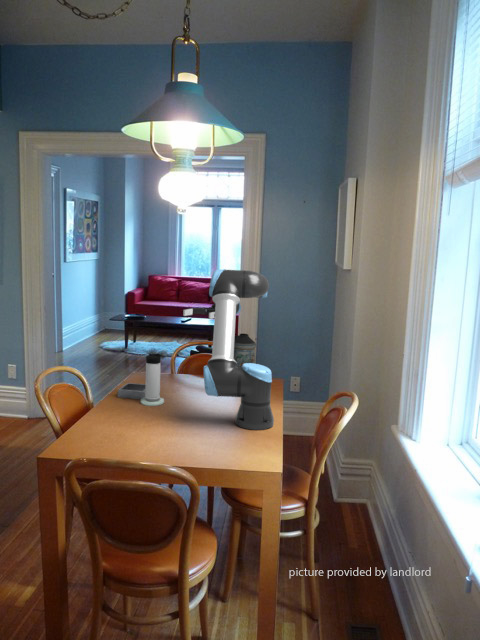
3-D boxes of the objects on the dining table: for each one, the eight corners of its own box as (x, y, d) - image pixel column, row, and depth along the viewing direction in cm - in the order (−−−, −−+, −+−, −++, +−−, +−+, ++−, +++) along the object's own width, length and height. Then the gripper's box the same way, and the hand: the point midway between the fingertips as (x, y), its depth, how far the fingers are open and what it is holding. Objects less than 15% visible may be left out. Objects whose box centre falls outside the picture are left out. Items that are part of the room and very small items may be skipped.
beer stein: (244, 388, 247) (248, 338, 243) (214, 380, 258) (217, 333, 255) (264, 383, 260) (267, 335, 256) (234, 375, 271) (237, 330, 268)
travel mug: (163, 399, 219) (164, 355, 217) (151, 402, 215) (152, 356, 212) (154, 396, 224) (155, 352, 221) (142, 399, 219) (143, 354, 216)
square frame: (143, 399, 223) (143, 391, 222) (117, 397, 224) (117, 389, 224) (151, 392, 235) (152, 384, 234) (127, 390, 236) (127, 382, 236)
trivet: (160, 406, 214) (160, 404, 214) (137, 404, 215) (137, 402, 215) (166, 400, 224) (166, 397, 223) (145, 398, 225) (145, 395, 225)
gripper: (242, 320, 239) (220, 325, 221) (198, 315, 251) (173, 319, 232) (243, 304, 238) (221, 308, 219) (198, 300, 250) (174, 303, 231)
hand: (196, 314), depth 226 cm, fingers open, 13 cm apart
